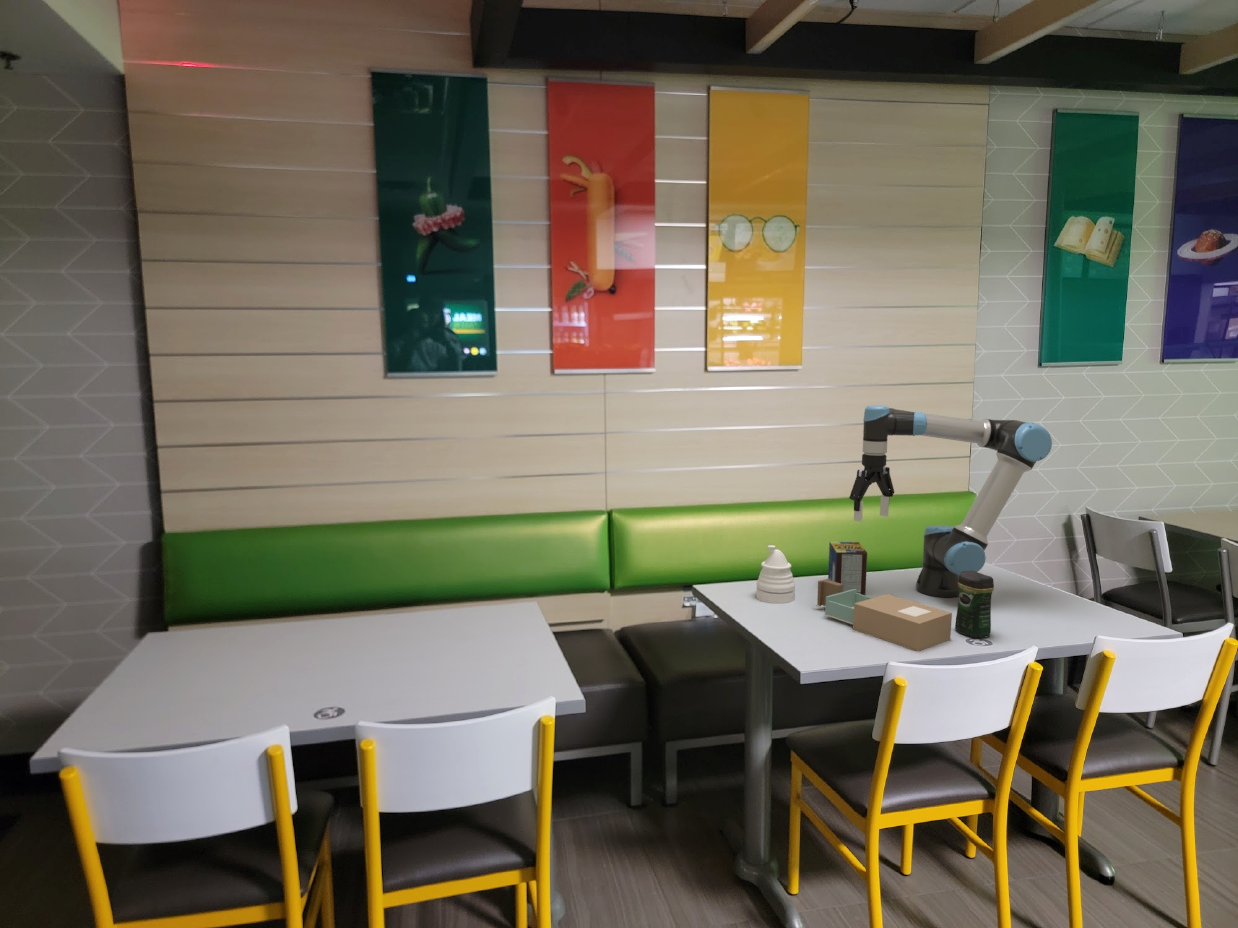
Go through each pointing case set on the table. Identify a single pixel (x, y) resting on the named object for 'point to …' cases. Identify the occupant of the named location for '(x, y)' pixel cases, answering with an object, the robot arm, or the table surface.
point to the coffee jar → (974, 604)
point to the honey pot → (775, 579)
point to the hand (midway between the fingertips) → (871, 518)
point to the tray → (838, 600)
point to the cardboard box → (902, 621)
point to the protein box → (848, 565)
